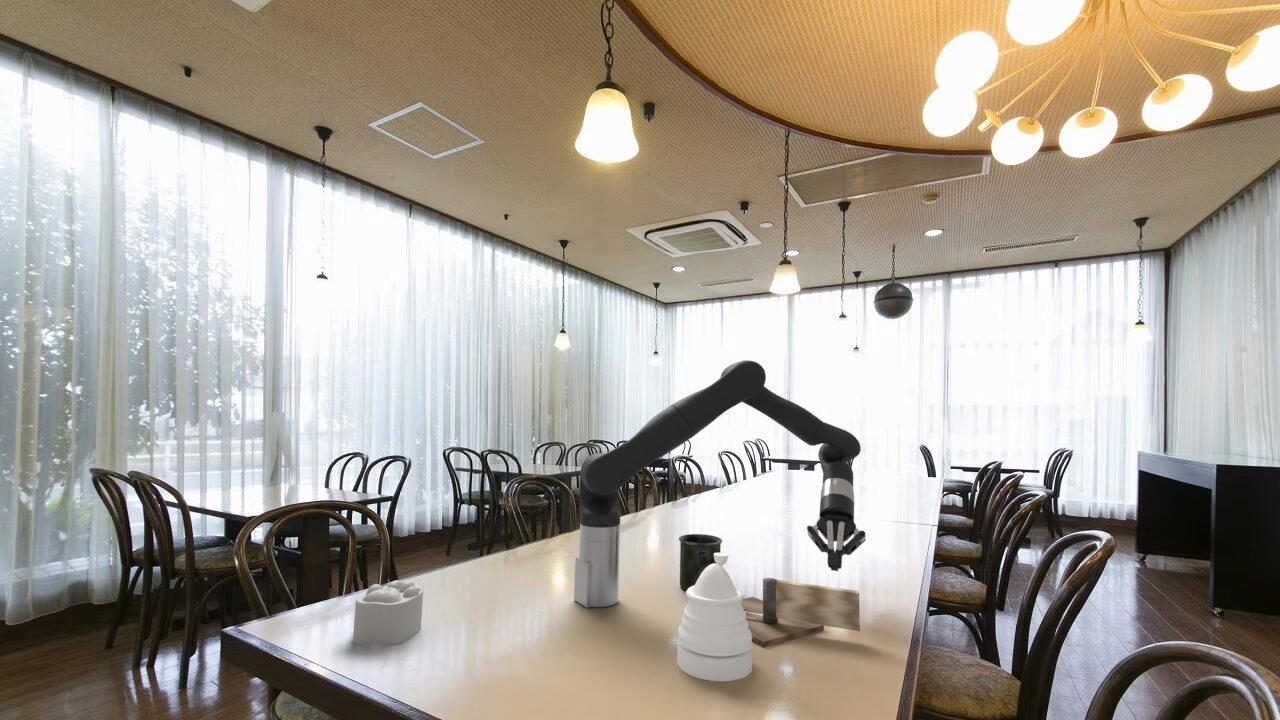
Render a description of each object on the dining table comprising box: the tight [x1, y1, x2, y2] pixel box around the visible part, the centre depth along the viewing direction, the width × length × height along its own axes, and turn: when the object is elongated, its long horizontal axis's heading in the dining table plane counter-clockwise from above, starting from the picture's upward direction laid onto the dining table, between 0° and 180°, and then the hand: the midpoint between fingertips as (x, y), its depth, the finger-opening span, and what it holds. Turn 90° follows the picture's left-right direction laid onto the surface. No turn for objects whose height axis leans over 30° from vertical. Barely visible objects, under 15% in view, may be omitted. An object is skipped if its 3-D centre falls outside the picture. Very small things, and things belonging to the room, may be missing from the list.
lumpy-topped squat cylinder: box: [352, 579, 424, 647], centre depth 107 cm, size 10×13×9 cm
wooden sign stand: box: [741, 596, 825, 648], centre depth 116 cm, size 17×20×1 cm
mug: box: [678, 533, 723, 592], centre depth 137 cm, size 11×15×12 cm
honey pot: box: [676, 552, 753, 682], centre depth 96 cm, size 13×13×18 cm
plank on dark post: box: [744, 577, 861, 632], centre depth 112 cm, size 28×3×8 cm, turn 67°
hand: (834, 568), depth 118 cm, fingers closed
